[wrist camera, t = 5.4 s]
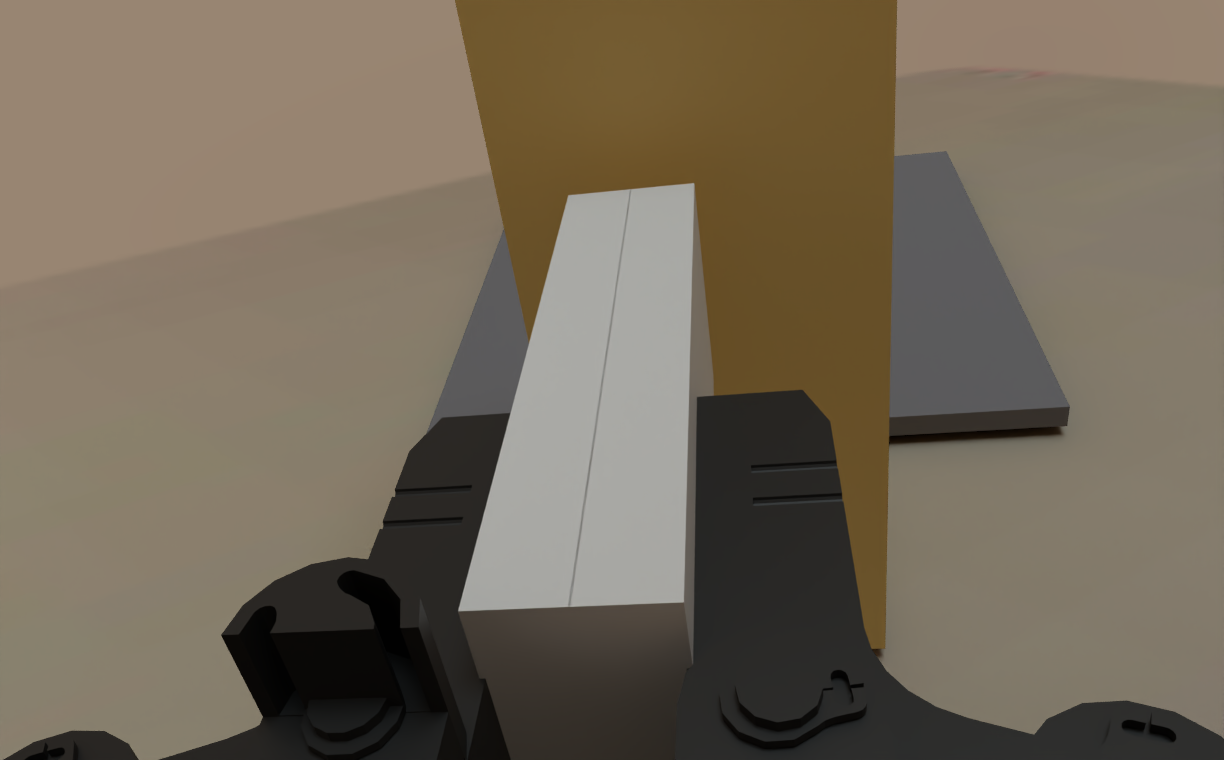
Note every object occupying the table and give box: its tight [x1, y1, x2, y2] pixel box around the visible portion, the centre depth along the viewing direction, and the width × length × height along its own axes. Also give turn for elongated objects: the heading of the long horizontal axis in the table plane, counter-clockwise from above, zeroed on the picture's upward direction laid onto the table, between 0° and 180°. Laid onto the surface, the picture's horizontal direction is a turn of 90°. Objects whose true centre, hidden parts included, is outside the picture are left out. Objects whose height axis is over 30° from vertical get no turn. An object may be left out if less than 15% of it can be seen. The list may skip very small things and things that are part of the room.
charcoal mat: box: [427, 151, 1070, 436], centre depth 28 cm, size 14×14×1 cm
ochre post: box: [455, 0, 897, 649], centre depth 16 cm, size 5×5×14 cm
